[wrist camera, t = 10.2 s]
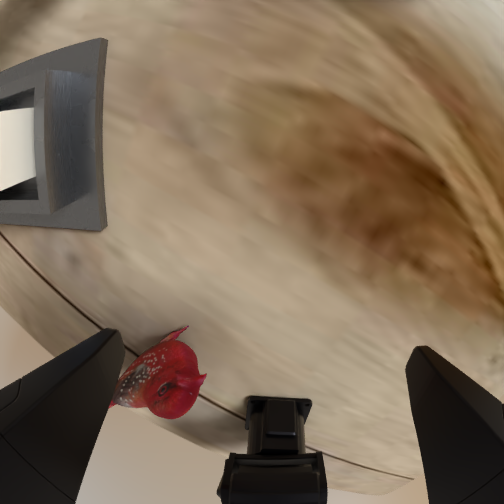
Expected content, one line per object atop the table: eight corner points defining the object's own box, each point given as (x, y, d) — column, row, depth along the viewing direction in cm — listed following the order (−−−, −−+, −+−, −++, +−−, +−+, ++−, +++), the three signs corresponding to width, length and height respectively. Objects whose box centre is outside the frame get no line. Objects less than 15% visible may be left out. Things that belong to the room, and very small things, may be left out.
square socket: (107, 225, 21) (79, 247, 17) (-1, 219, 21) (-28, 235, 17) (107, 40, 15) (76, 29, 11) (-8, 79, 15) (-38, 81, 11)
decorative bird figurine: (237, 310, 23) (219, 418, 14) (121, 383, 29) (89, 454, 20) (211, 285, 22) (178, 390, 13) (101, 367, 28) (64, 437, 19)
